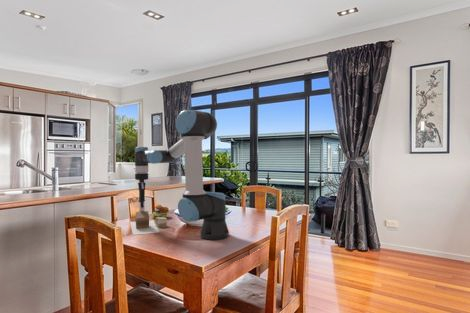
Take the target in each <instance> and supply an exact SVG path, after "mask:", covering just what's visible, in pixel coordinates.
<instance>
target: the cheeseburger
mask: <svg viewBox="0 0 470 313" xmlns="http://www.w3.org/2000/svg"><path fill="white" fill-rule="evenodd" d="M154 208H155V210H153V212H152V214H151V220H156V217H165V218H167V216H168V213H169V211H170V210H169V208H168V207H167V206H162V204H157V205H156V206H155V207H154Z"/></svg>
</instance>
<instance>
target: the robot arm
mask: <svg viewBox="0 0 470 313" xmlns="http://www.w3.org/2000/svg"><path fill="white" fill-rule="evenodd" d="M217 127H218V122H217V119H216V117H215V116H214V115H213V114H212V113H210V112H206V111H201V110H194V109H184V110H182V111H180V113H179V114H178V115H177V117H176V121H175V129H176V130H177V133H179V134H180V140H179V141H177V142H175V143H174V144H173V145H172V146H171V147H169V148H168V149H166V150H164V149H163V150H161V149H160V150H157V149H153V150H152V149H149V147H148V146H136V147H135V148H134V167H133V169H134V171H135V174H134V179H135V180H136V181H139V182H138V183H137V186H138V193H139V194H138V196H139V198H138V203H139V204H138V205H139V211H138V212H142V211H145V202H146V199H145V196H146V195H145V192H146V191H145V190H146V182H145V181H146V180H149V164H153V165H154V164H156V165H157V164H174V163H178V162H179V161H180V159H181V156H183V155H184V174H185V175H184V176H185V177H184V178H185V180H184V181H185V182H184V183H185V191H184V192H183V193H182V198H180V199H179V201H178V202H177V210H178V213H179V216H180V217H181V218H182V219H183V221H185V222H188V223H189V222H198V221H200V220H203V222H202V224H201V228H200V231H199V237H200V238H201V239H204V240H210V241H211V240H212V241H213V240H216V241H217V240H224V239H227V238H228V237H230V236H229V235H230V234H229V232H230V231H229V228H228V224H227V222H226V204H227V201H226V194H225V193H223V192H216V191H215V192H213V191H206V190H204V174H203V169H204V168H203V140H208V139H209V138H210V137H211V136H212V135H214V134H215V132H216V130H217Z"/></svg>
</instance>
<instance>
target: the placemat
mask: <svg viewBox="0 0 470 313" xmlns="http://www.w3.org/2000/svg"><path fill="white" fill-rule="evenodd" d="M129 223H130V227H131V233H132V236H135V235H136V236H137V235H146V234H149V235H150V234H156V233H157V234H158V233H160V230H159V228H158V227H157V226H155V223H156V222H155V221H154V219H151V220H150V219H149V228H141V229H136V221H130V222H129Z"/></svg>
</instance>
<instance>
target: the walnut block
mask: <svg viewBox="0 0 470 313" xmlns="http://www.w3.org/2000/svg"><path fill="white" fill-rule="evenodd" d="M149 220H150V213H149V210H146V211H145V210H144V211H142V212H139V211H135V222H136V229H141V228H149Z"/></svg>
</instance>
